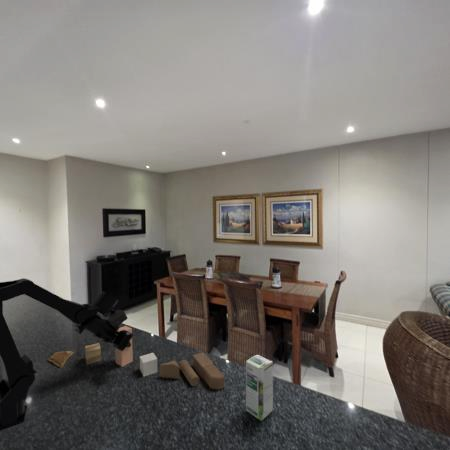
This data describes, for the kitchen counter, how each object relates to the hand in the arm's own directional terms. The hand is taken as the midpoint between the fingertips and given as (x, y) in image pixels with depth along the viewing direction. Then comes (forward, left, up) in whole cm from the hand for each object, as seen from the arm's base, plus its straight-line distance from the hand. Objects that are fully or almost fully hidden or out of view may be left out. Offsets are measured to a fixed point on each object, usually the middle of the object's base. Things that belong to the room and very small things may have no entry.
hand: (127, 343), depth 98 cm
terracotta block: (-1, +1, -7) cm, 7 cm away
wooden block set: (-26, -16, -7) cm, 31 cm away
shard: (+15, +21, -7) cm, 27 cm away
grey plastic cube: (-12, -5, -7) cm, 14 cm away
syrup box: (-49, -27, -7) cm, 56 cm away
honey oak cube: (+8, +11, -7) cm, 16 cm away
